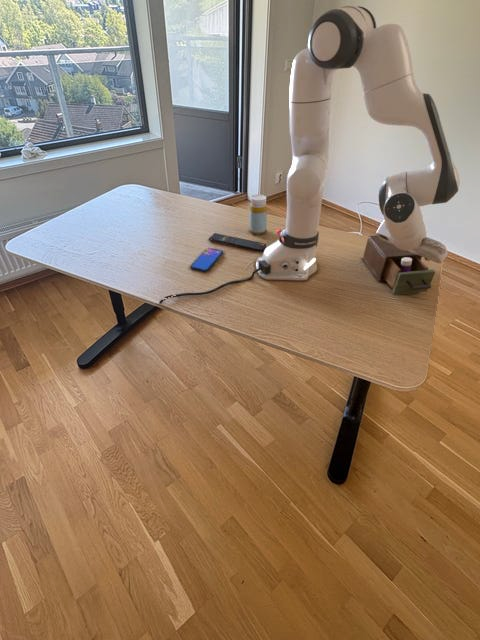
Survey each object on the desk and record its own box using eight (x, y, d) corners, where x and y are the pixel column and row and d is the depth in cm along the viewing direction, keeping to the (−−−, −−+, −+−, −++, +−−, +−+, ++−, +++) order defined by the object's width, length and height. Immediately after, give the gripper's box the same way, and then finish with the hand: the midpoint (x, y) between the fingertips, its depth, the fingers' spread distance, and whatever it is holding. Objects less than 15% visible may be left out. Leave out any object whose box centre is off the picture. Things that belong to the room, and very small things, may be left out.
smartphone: (189, 266, 127) (207, 247, 137) (189, 268, 128) (207, 249, 138) (206, 270, 125) (223, 250, 135) (207, 272, 126) (224, 252, 136)
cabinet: (413, 278, 121) (423, 253, 115) (378, 281, 120) (386, 256, 113) (394, 256, 132) (402, 233, 126) (362, 259, 131) (368, 235, 125)
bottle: (264, 235, 146) (266, 201, 137) (248, 234, 148) (248, 200, 138) (267, 228, 152) (268, 194, 142) (251, 227, 153) (251, 193, 143)
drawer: (434, 299, 110) (443, 279, 105) (399, 302, 109) (406, 282, 104) (407, 269, 124) (414, 250, 118) (376, 272, 123) (381, 252, 117)
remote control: (215, 235, 147) (214, 232, 146) (267, 247, 139) (267, 244, 138) (209, 241, 143) (208, 238, 142) (262, 253, 136) (262, 250, 135)
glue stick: (401, 284, 114) (404, 262, 110) (397, 279, 117) (399, 258, 113) (410, 282, 115) (413, 260, 110) (406, 277, 117) (408, 256, 113)
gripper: (451, 237, 92) (453, 256, 103) (383, 212, 103) (391, 232, 115) (437, 257, 92) (440, 274, 104) (371, 231, 104) (380, 249, 115)
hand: (414, 252), depth 109 cm, fingers open, 8 cm apart
